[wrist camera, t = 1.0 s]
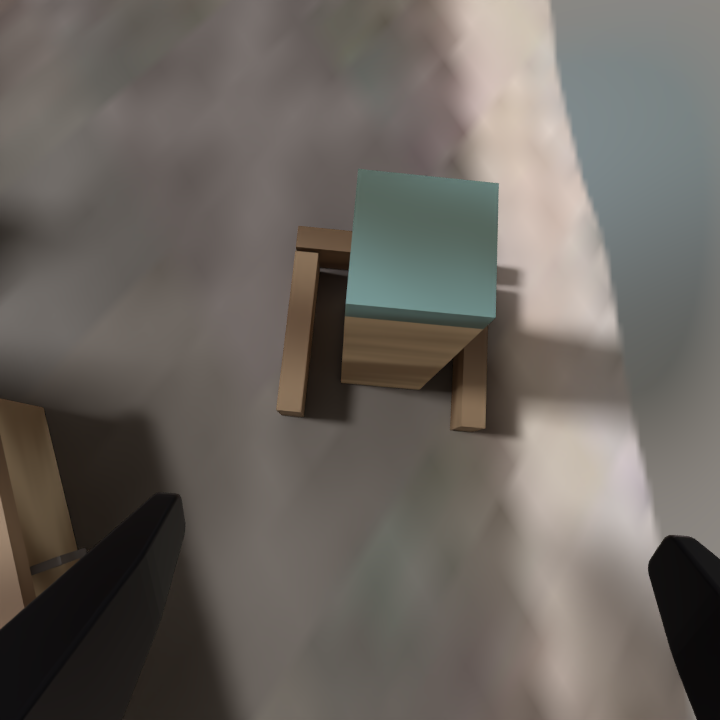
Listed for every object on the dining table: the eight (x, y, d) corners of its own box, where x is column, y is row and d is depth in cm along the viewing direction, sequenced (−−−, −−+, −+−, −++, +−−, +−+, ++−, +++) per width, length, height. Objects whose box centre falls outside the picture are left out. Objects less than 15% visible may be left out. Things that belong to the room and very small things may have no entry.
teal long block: (419, 389, 22) (495, 317, 12) (340, 382, 22) (345, 303, 12) (423, 315, 23) (498, 183, 13) (347, 308, 23) (358, 168, 12)
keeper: (472, 431, 22) (485, 428, 20) (281, 415, 22) (276, 409, 20) (477, 263, 24) (490, 244, 22) (301, 245, 24) (298, 225, 22)
